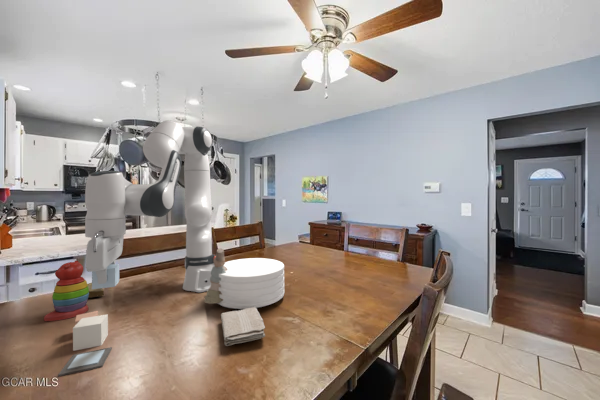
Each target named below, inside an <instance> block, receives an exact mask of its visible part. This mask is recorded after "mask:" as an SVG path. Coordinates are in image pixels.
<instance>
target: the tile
mask: <svg viewBox="0 0 600 400" xmlns="http://www.w3.org/2000/svg"><path fill="white" fill-rule="evenodd" d="M112 348H113V347H112V346H110V347H106V348H105V347H104V348H99V349H95V350H90V351H85V352H80V353H75V354H72V356H71V357H70V358H69V359H68V361H67V362H66V364H65V365H64V366H63V367H62V369H61V370H60V372H59V373H58V375H57V377H62V376H66V375H67V376H68V375H71V374H76V373H81V372H86V371H89V370H95V369H99V368H103V366H104V364H105V362H106V361H107V358H108V357H109V355H110V353H111V351H112Z"/></svg>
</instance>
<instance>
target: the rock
mask: <svg viewBox="0 0 600 400" xmlns="http://www.w3.org/2000/svg"><path fill="white" fill-rule="evenodd" d="M87 285H88V288H89V296H88V299H90V298H96V297H104V296H105V292H104V288H100V289H92V282H90V283H89V282H88V283H87Z"/></svg>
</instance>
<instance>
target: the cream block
mask: <svg viewBox="0 0 600 400" xmlns="http://www.w3.org/2000/svg"><path fill="white" fill-rule="evenodd" d="M108 315H109V314H107V313H106V314H102V315H98V316H94V317H87V318H82V319H81V320H80V321H79V322H78V323H77V324H76V325H74V326H73V327H72V351H79V350H80V351H81V350H85V349H89V348H96V347H100V346H102V345H103V344H104V342H105V340H106V339H107V337H108V335H109V316H108Z"/></svg>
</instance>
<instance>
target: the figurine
mask: <svg viewBox="0 0 600 400" xmlns="http://www.w3.org/2000/svg"><path fill="white" fill-rule="evenodd" d="M215 255H216V257H215V259H214V260H213V261H214V267H213V268H212V270H211V275H212V276H211V278H210V282H211V287H210V288H209V290H208V291H206V294H205V295H204V296H203V297H204V301H203V302H204V303H206V304H212V305H213V304H218V303H220V302H221V301H223V299H221V298H220V297H219V294H222V293H221V291H219V287H220V286H221V285H220V284H219V283H220V282H219V281H221V278H220V277H219V274H223V273H226V272H225V271H227V268H226V267H225V266H224V264H225V262H226V258H225V250H224V249H223V248H218V249H217V250H216V253H215Z"/></svg>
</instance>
